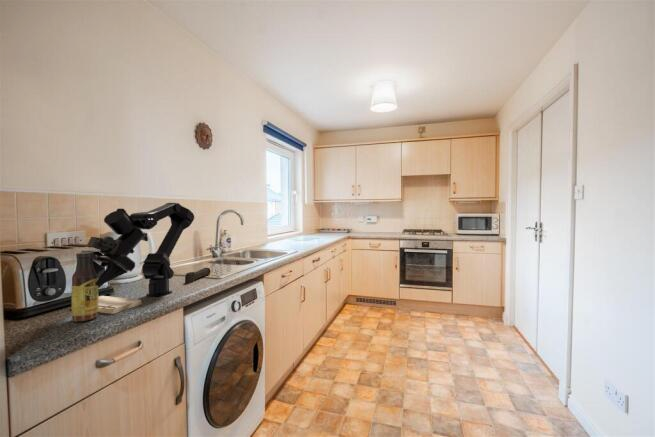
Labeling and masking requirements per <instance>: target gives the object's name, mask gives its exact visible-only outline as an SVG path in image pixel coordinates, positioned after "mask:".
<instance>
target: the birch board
mask: <svg viewBox="0 0 655 437" xmlns="http://www.w3.org/2000/svg"><path fill="white" fill-rule="evenodd" d="M98 302H99V311H98V313H102V314H112V315H114V314H117V313H121V312H123V311H126V310H129V309H132V308H134V307H137V306H140V305H142V299H139V298H138V299H136V298H128V297H127V298H125V297H118V296H109V295H108V296H107V295H100V296H98Z"/></svg>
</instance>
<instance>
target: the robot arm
mask: <svg viewBox="0 0 655 437" xmlns="http://www.w3.org/2000/svg"><path fill="white" fill-rule="evenodd" d="M167 217H169V219H170V223H171V225H170V227H169V229H168V231H167V232H166V234H165V236H164V238H163V239H162V242H160V245H159V247H158V248H157V250H156V252H154V253H153V252H150V253H148V254H147V255H146V257H145V259H144V261H142V262H143V264H142V267H141V271H142V273H143V278H144V280H148V293H146V294H145V295H146V296H148V297H149V296H150V297H162V296H165V295H168V294H171V293H173V290H170V280H171V279H172V278H173V277H174V274H175V271H174V270H173V268H171V261H170V257H171V254H172V253H173V250H174V248H175V247H176V245H177V244H178V241H179V239H180V237H181V235H182V233H183V231H184V230H186V229H187V228H189V227H190V226H191V225H192V224H193V222H194V219H195V215H194V213H193V212H192V211H191V209H189V208H187V207H185V206H183V205H181V204H180V203H179V202H167V203H165V204H163V205H161V206H158V207H156V208H153V209H150V210H148V211H141V212H134V213H130V215H129V213H127V211H126V209H125V208H117V209H116V210H114V211H111V212H110V213H108V214H107V215H105V217H104V218H103V221H104V223H105V225H107V227H109V229H111V230H112V231H113V232H114V233H115V235H118V237H117V238H116V239H114V237H112V236H104V237H103V238H102V237H100V236H99V237H98V236H90V238H89V240H88V243H87V245H86V247H87V248H93V249H97V250H98V251H97V250H88V251H87V252H93V253H94V257H93V267H94V269H95V272H96V274H97V275H98V274H99V273H100V272H102V271H103V270H104V272H103V273H101V275H100V276H99V277H98V281H97V282H96V284H95V285H97V286H98V287H100V286H102V285H104V284H106V283H108V282H110V281H112V280H114V279H116V278H117V277H120V276H122V275H124V274H127V273H128V272H132V271H133V270H134V269H135V268H136V262H135V261H134V260H132V259H131V258H130V257H128V255H130V254H134V253H135V250H134V249H135V247H137V245H138V244H139V243H140V242H141V241H143V242H148V241H149V237H148V232H143V230H151V229H153V228H154V227H156V226H157V225H158V222H159V221H161V220H163V219H165V218H167Z"/></svg>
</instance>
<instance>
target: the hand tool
mask: <svg viewBox="0 0 655 437" xmlns="http://www.w3.org/2000/svg"><path fill="white" fill-rule="evenodd" d="M207 274H209V275H210V274H211V269H210V267H203V268H202V269H199V270H196V271H190V272H187V273H186V274H185V278H184V284H190V283H193V281H194V282H195V280H197V279H200V278H203V277H205V275H206V276H208V275H207ZM202 276H203V277H202Z"/></svg>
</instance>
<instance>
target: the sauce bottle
mask: <svg viewBox="0 0 655 437" xmlns="http://www.w3.org/2000/svg"><path fill="white" fill-rule="evenodd" d="M75 256H76V257H75V258H76V264H77V265H76V270H75V271H74V273H73V274H72V277H71V320H72V322H75V323H76V322H79V323H80V322H86V321H90V320H93V319H96V318H97V317H98V315H99V312H98V311H99V302H98V297H99V295H100V294H99V286H97V285H95V284H96V282H97V281H98V279H99V276H98V273H97V274H96V272H95V269H94V267H93V257H94V253H93V252H88V251H83V252H76V254H75Z"/></svg>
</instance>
